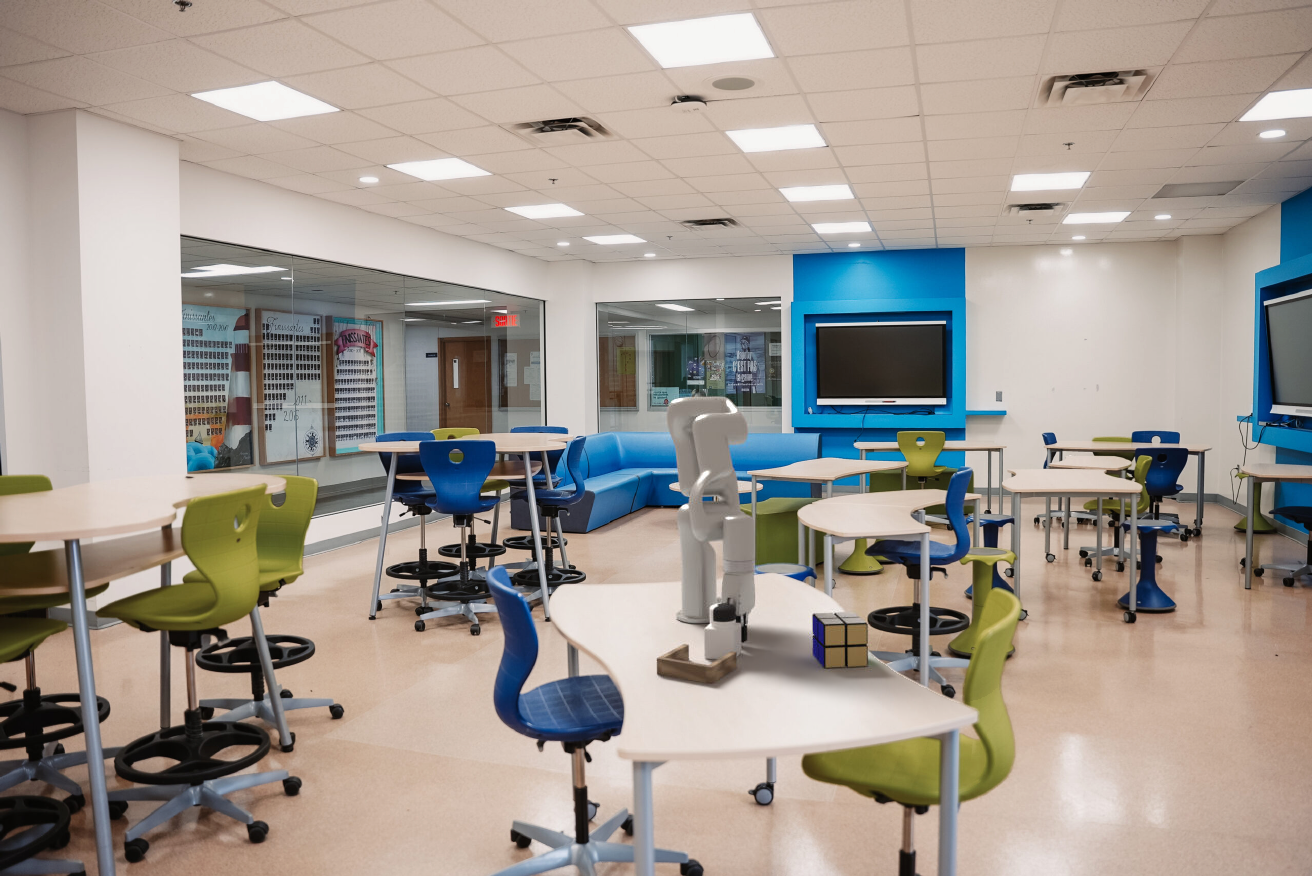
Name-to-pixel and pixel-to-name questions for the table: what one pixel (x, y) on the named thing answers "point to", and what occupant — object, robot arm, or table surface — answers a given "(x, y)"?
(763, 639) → the table surface
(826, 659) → the puzzle cube
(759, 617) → the table surface
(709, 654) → the medicine bottle
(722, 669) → the bay
